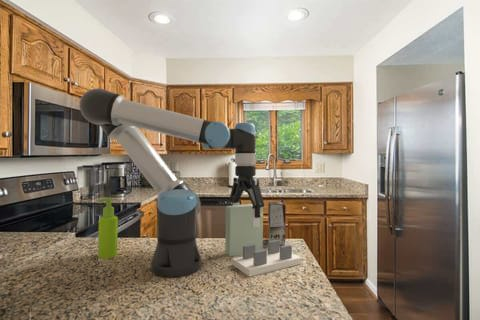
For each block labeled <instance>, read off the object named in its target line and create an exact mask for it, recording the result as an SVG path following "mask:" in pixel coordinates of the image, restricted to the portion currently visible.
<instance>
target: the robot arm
mask: <svg viewBox="0 0 480 320" xmlns="http://www.w3.org/2000/svg"><path fill="white" fill-rule="evenodd" d="M78 105H79V111H80V113H81V115H82V117H83V118H84V119H85V120H86V121H88V122H89V123H92V124H93V125H96V126H99V127H100V128H101V129H102V130H103V132H104V133H105V134H106V135H107V137H108V138H109V139H111V140H115V141H117V142H118V144H120V147H121V148H122V149H123V150H124V152H125V153H126V155H128V157H129V158H130V159H131V161H132V162H133V163H134V164H135V166H136V167H137V169H138V170H139V171H140V173H142V175H143V177H144V179H146V180H147V182H148V184H149V185H151V186H152V188H153V190H154V191H155V192H156V194H157V197H156V201H157V203H156V204H157V205H156V207H157V226H156V227H157V229H156V231H157V233H156V235H157V237H156V239H157V241H156V242H157V243H156V245H155V249H154V251H153V255H152V258H151V261H150V271H151V273H152V274H154V275H156V276H160V277H165V278H175V277H176V278H177V277H183V276H188V275H191V274H194V273H196V272H198V271H199V270H200V269H201V267H202V257H201V253H200V250H199V247H198V244H197V240H196V239H197V237H196V236H197V217H198V215H199V213H200V211H201V206H202V205H201V200H200V197H199V195H198V194H197V193H196V192H195V191H193V190H192V189H191V188H190V186H189V185H188V184H187V182H186V181H185V180H183V179H178V177H176V175H175V174H174V173H173V171H172V170H171V169H170V167H169V166H168V165H167V163H166V162H165V160H164V159H163V158H162V157H161V155H160V154H159V153H158V152H157V150H156V149H155V148H154V146H153V145H152V144H151V142H150V141H149V140H148V138H147V137H146V136H145V134H144V133H143V132H142V131H141V129H142V130H146V131H151V132H153V133H159V134H161V135H162V134H163V135H166V136H171V137H175V138H179V139H183V140H185V141H186V140H187V141H191V142H195V143H199V144H202V148H203V149H205V150H234V165H235V167H234V168H235V169H234V173H235V176H236V177H233V179H232V180H233V182H232V187H231V191H230V196H229V198H228V199H229V201H231V203H232V206H234V205H241V203H240V199H241V197H242V195H243V193H244V192H245V193H247V195H248V198H249V200H250V203H251V204H252V205H253V207H252V227H253V228H254V227H260V208H261V207H263V208H264V207H265V202H264V199H263V195H262V191H261V188H260V180H259V179H258V178H256V179H255V178H254V177H255V176H256V175H257V174H256V173H257V172H256V169H257V168H256V166H255V164H256V143H257V142H256V141H257V140H256V138H257V137H256V136H257V135H256V127H255V124H254V123H252V122H238V123H235V126H234V128H229V127H228V126H227V125H226V124H225V123H224V122H222V121H210V120H207V119H204V118H200V117H195V116H191V115H188V114H185V113H180V112H176V111H171V110H167V109H164V108H160V107H156V106H153V105H148V104H144V103H140V102H137V101H132V100H129V99H126V97H125V96H124V95H123V94H119V93H116V92H112V91H109V90H106V89H104V88H92V89H89V90H87V91H86V92H84V93H83V94H82V95H81V98H80V99H79V104H78Z"/></svg>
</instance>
